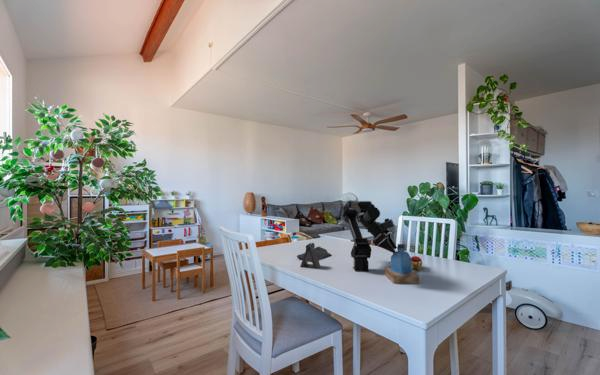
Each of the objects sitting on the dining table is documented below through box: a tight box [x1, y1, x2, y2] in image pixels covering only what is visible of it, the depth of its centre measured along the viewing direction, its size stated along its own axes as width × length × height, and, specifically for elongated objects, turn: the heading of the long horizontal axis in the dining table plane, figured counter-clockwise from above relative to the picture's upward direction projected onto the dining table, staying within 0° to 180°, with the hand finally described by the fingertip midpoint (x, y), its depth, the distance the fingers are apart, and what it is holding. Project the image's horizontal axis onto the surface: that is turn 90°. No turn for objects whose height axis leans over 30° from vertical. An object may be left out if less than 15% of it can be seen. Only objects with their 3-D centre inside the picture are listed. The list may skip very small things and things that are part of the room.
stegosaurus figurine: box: [296, 246, 333, 263], centre depth 168 cm, size 15×22×5 cm
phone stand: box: [300, 242, 321, 270], centre depth 148 cm, size 9×6×12 cm, turn 69°
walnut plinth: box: [384, 267, 420, 284], centre depth 127 cm, size 11×11×4 cm
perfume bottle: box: [390, 243, 412, 274], centre depth 128 cm, size 6×6×12 cm
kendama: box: [410, 255, 423, 272], centre depth 141 cm, size 8×6×18 cm
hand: (395, 250), depth 129 cm, fingers open, 9 cm apart
